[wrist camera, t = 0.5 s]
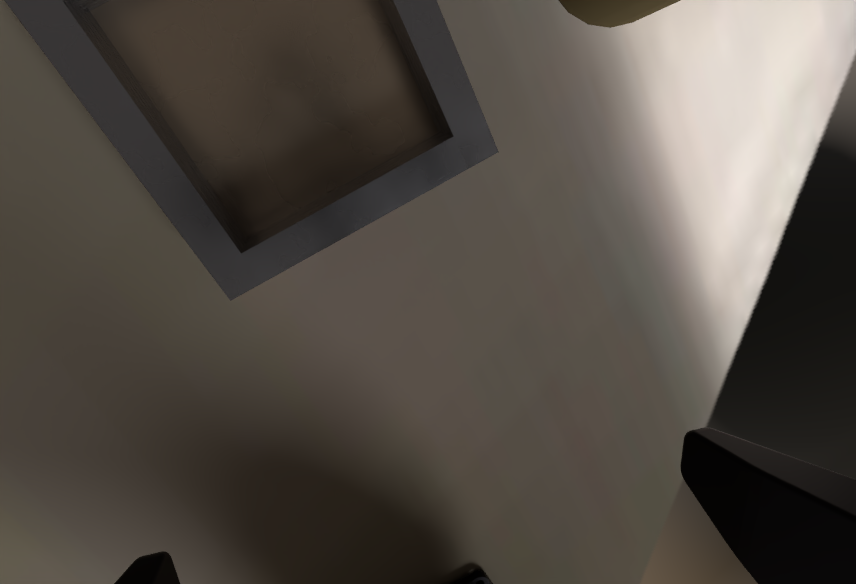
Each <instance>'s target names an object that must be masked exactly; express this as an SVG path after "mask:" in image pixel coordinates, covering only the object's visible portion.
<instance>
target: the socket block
mask: <svg viewBox="0 0 856 584" xmlns="http://www.w3.org/2000/svg"><path fill="white" fill-rule="evenodd" d="M5 2H6V3H7V4H8V6H9V7H10V8H11V10H12V11H13V12H14V13H15V15H16V16H17V17H18V19H19V20H20V21H21V23H22V24H23V25H24V27H25V28H26V29H27V31H28V32H29V33H30V35H31V36H32V37H33V39H34V40H35V41H36V43H37V44H38V45H39V47H40V48H41V49H42V51H43V52H44V53H45V55H46V56H47V57H48V59H49V60H50V61H51V63H52V64H53V65H54V67H55V68H56V69H57V71H58V72H59V73H60V75H61V76H62V77H63V79H64V80H65V81H66V83H67V84H68V85H69V87H70V88H71V89H72V91H73V92H74V93H75V95H76V96H77V97H78V99H79V100H80V101H81V103H82V104H83V105H84V107H85V108H86V109H87V111H88V112H89V113H90V115H91V116H92V117H93V118H94V120H95V121H96V122H97V124H98V125H99V126H100V128H101V129H102V130H103V132H104V133H105V134H106V136H107V137H108V138H109V140H110V141H111V142H112V144H113V145H114V146H115V148H116V149H117V150H118V152H119V153H120V154H121V156H122V157H123V158H124V160H125V161H126V162H127V164H128V165H129V166H130V168H131V169H132V170H133V172H134V173H135V174H136V176H137V177H138V178H139V180H140V181H141V182H142V184H143V185H144V186H145V188H146V189H147V190H148V192H149V193H150V194H151V196H152V197H153V198H154V200H155V201H156V202H157V204H158V205H159V206H160V208H161V209H162V210H163V212H164V213H165V214H166V216H167V217H168V218H169V220H170V221H171V222H172V223H173V225H174V226H175V227H176V229H177V230H178V231H179V233H180V234H181V235H182V237H183V238H184V239H185V241H186V242H187V243H188V245H189V246H190V247H191V249H192V250H193V251H194V253H195V254H196V255H197V257H198V258H199V259H200V261H201V262H202V263H203V265H204V266H205V267H206V269H207V270H208V271H209V273H210V274H211V275H212V277H213V278H214V279H215V281H216V282H217V283H218V285H219V286H220V287H221V289H222V290H223V291H224V293H225V294H226V295H227V297H228V298H229V299H230V301H231V300H233V299H234V298H236V297H238V296H240V295H242V294H243V293H245V292H247V291H249V290H251V289H252V288H254V287H256V286H258V285H260V284H261V283H263V282H265V281H267V280H269V279H270V278H272V277H274V276H276V275H278V274H279V273H281V272H283V271H285V270H287V269H288V268H290V267H292V266H294V265H296V264H297V263H299V262H301V261H303V260H305V259H306V258H308V257H310V256H312V255H314V254H315V253H317V252H319V251H321V250H323V249H324V248H326V247H328V246H330V245H332V244H333V243H335V242H337V241H339V240H341V239H342V238H344V237H346V236H348V235H350V234H351V233H353V232H355V231H357V230H359V229H360V228H362V227H364V226H366V225H368V224H370V223H371V222H373V221H375V220H377V219H379V218H380V217H382V216H384V215H386V214H388V213H389V212H391V211H393V210H395V209H397V208H398V207H400V206H402V205H404V204H406V203H407V202H409V201H411V200H413V199H415V198H416V197H418V196H420V195H422V194H424V193H425V192H427V191H429V190H431V189H433V188H434V187H436V186H438V185H440V184H442V183H443V182H445V181H447V180H449V179H451V178H452V177H454V176H456V175H458V174H460V173H461V172H463V171H465V170H467V169H469V168H470V167H472V166H474V165H476V164H478V163H479V162H481V161H483V160H485V159H487V158H488V157H490V156H492V155H494V154H496V153H497V152H498V149H497V147H496V145H495V142H494V140H493V137H492V135H491V132H490V130H489V128H488V125H487V123H486V120H485V118H484V115H483V113H482V110H481V108H480V106H479V103H478V101H477V98H476V96H475V93H474V91H473V89H472V86H471V84H470V81H469V79H468V76H467V74H466V71H465V69H464V67H463V64H462V62H461V59H460V57H459V54H458V52H457V50H456V47H455V45H454V42H453V40H452V37H451V35H450V32H449V30H448V28H447V25H446V23H445V20H444V18H443V15H442V13H441V11H440V8H439V6H438V3H437V1H436V0H5Z"/></svg>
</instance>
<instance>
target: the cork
mask: <svg viewBox="0 0 856 584" xmlns="http://www.w3.org/2000/svg"><path fill="white" fill-rule="evenodd" d="M559 1H560V2H561V4H562V5H563V6H564V7H565V9H566V10H567V11H568V12H569V13H570V14H572V15H574V16H575V17H577V18H579V19H580V20H582V21H584V22H585V23H587V24H590V25H596V26H603V27H610V28H611V27H615V26H619V25H623V24H627V23H632V22H634V21H636V20H639V19H641V18H643V17H645V16H647V15H650V14H652V13H654V12H656V11H658V10H661V9H663V8H665V7H667V6H669V5H671V4H674V3H676V2H678V1H680V0H559Z"/></svg>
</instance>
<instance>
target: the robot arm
mask: <svg viewBox="0 0 856 584" xmlns="http://www.w3.org/2000/svg"><path fill="white" fill-rule="evenodd" d="M681 473H682V476H683V478H684V480H685V482H686V484H687V485H688V487H689V488H690V490H691V491H692V492H693V494H694V495H695V497H696V498H697V500H698V501H699V503H700V504H701V506H702V507H703V509H704V510H705V512H706V513H707V515H708V516H709V517H710V519H711V521H712V522H713V524H714V525H715V526H716V528H717V529H718V531H719V532H720V534H721V535H722V537H723V538H724V540H725V541H726V543H727V544H728V545H729V547H730V548H731V550H732V551H733V552H734V554H735V555H736V557H737V558H738V559H739V561H740V562H741V563H742V564H743V566H744V567H745V568H746V570H747V571H748V572H749V573H750V574H751V576H752V577H753V578H754V579H755V581H756V582H757V583H758V584H856V480H855V479H853V478H849V477H847V476H844V475H841V474H838V473H835V472H833V471H830V470H827V469H824V468H822V467H819V466H816V465H813V464H810V463H808V462H805V461H802V460H799V459H796V458H794V457H791V456H788V455H785V454H782V453H780V452H776V451H774V450H771V449H768V448H766V447H762V446H760V445H757V444H754V443H752V442H749V441H746V440H743V439H740V438H737V437H735V436H732V435H729V434H726V433H723V432H720V431H718V430H715V429H712V428H700V429H696V430H692V431H689V432H687V433H686V435H685V437H684V443H683V451H682V459H681ZM114 584H180V582H179V579H178V576H177V573H176V570H175V567H174V564H173V561H172V558H171V556H170V555H169V553H167V552H158V553H154V554H150V555H145V556H142V557H139V558H138V559H136V560H135V561H134V562H133V563H132V564H131V565H130V567H129V568H128V569H127V570H126V571H125V572H124V573H123V574H122V576H121V577H120V578H119V579H118V580H117V581H116V582H115V583H114ZM455 584H493V583H492V582H491V581H490V579H489V578H488V576H487V575H486V573H485V572H484V571H481V570H480V571H476V572H473V573H472V574H470V575H468V576H467V577H465V578H463V579H461V580H460V581H458V582H456V583H455Z"/></svg>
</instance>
